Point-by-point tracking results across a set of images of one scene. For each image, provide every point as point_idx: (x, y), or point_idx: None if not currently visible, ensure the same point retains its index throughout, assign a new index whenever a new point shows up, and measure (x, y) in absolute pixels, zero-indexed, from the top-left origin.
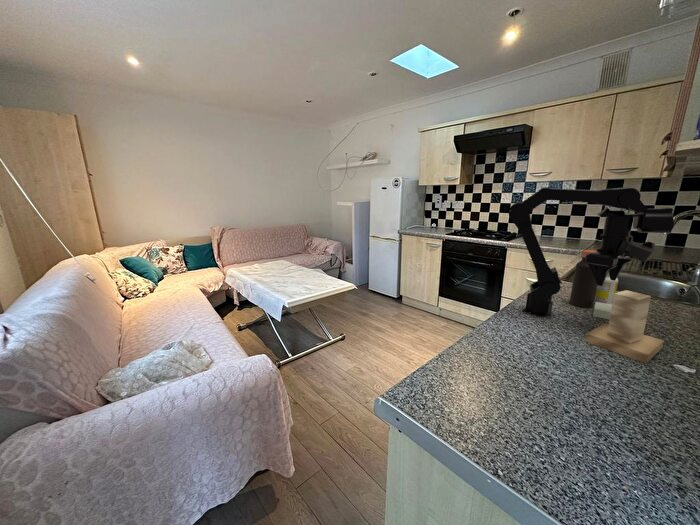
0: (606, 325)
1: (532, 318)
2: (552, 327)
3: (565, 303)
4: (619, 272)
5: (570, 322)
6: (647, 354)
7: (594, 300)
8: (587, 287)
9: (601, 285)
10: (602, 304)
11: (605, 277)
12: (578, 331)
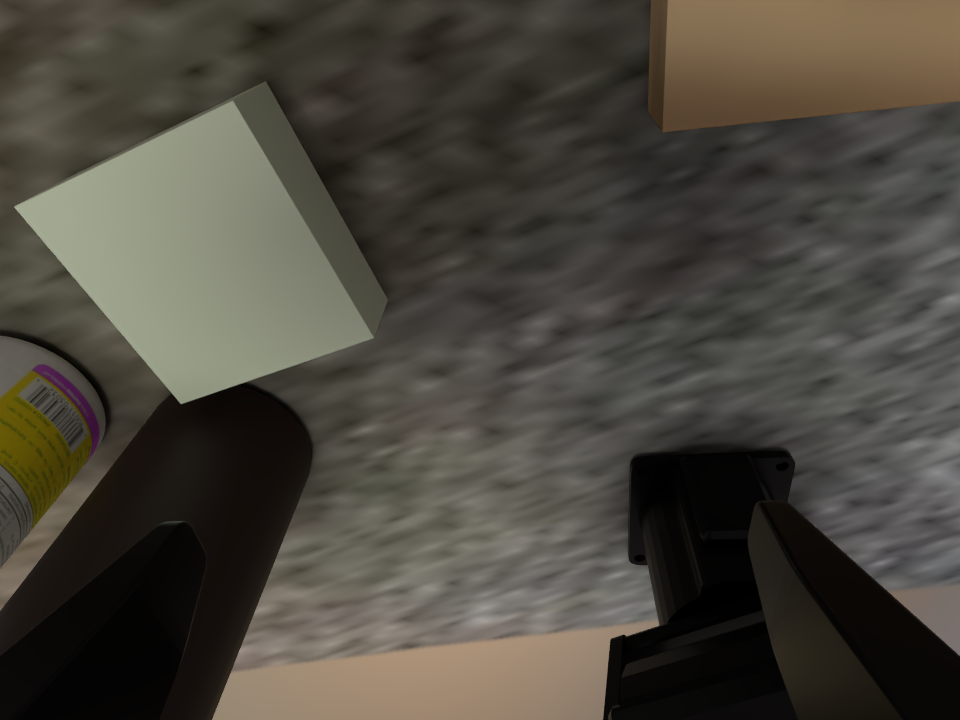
0: (728, 88)
1: (859, 469)
2: (941, 335)
3: (330, 493)
4: (31, 658)
5: (704, 318)
6: None
7: (96, 427)
8: (210, 558)
9: (787, 512)
10: (187, 351)
11: (932, 670)
12: (867, 201)
